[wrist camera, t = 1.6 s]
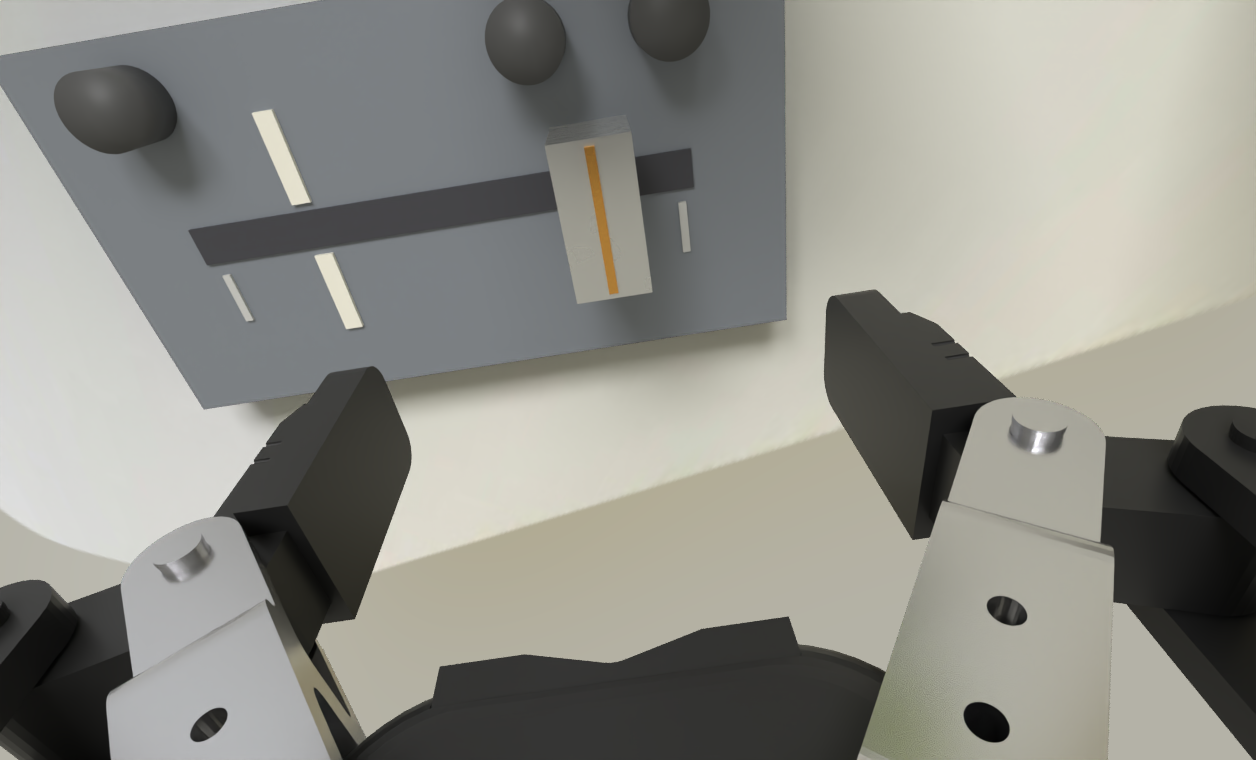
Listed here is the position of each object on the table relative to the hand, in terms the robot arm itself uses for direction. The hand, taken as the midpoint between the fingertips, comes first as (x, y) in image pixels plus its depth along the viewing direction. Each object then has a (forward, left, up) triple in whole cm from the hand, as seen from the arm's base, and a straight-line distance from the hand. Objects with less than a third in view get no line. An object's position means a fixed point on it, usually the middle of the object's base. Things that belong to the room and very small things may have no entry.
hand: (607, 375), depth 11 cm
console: (+6, 0, -17) cm, 18 cm away
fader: (0, 0, -14) cm, 14 cm away
